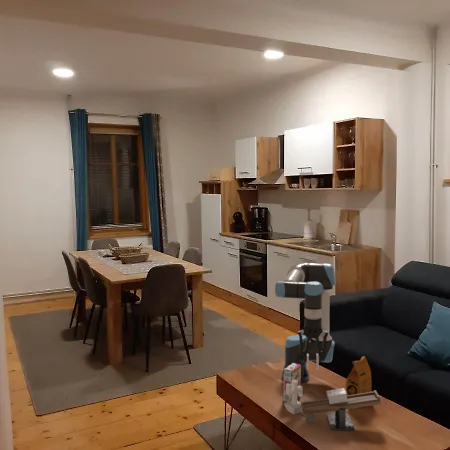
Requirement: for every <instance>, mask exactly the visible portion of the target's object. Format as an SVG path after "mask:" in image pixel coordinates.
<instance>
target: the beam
mask: <svg viewBox="0 0 450 450" xmlns="http://www.w3.org/2000/svg"><path fill="white" fill-rule="evenodd" d="M347 400H348V403H345V404H338V405H331V406H330V405H329V402H328V398H322V399H315V400H308V401H302V400H301V401H300V402H301V407H302V411H301V412H302V415H303V416H304V417H305V419H306V422H309V421H311V422H312V421H316V419H317V418H316V414H324V413H331V412H335V411H338V410H339V408H345V410H349V409H351V410H352V409H359V408H358V407H362V408H363V407H364V408H365V407H370V406H377V405H381V404H382V402H381V398H380V395H379V393H378V392H377V390H373V391H371V392H368V393H361V394H354V395H348V396H347Z"/></svg>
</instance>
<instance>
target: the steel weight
mask: <svg viewBox="0 0 450 450" xmlns="http://www.w3.org/2000/svg"><path fill="white" fill-rule="evenodd" d="M325 392H326V396H327V398H326V399H328V402H329V405H330V406H331V405H338V404H345V403H348V400H347V394H346V388H344V387H342V388H336V389H329V390H326V391H325Z"/></svg>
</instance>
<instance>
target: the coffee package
mask: <svg viewBox="0 0 450 450" xmlns="http://www.w3.org/2000/svg"><path fill="white" fill-rule="evenodd" d="M351 364H352V365H353V367H352V369H351V372H349V374H348V376H347V378H346V380H345V391H346V394H347V396H348V395H354V394H361V393H368V392H372V384H373V383H372V371H371V367H370V365H369V363H368V360H367V358H366V356H365V355H364V356H361V358H360V360H355V361H354V360H353V361H352V362H351ZM362 408H363V407H358V408H357V409H362Z"/></svg>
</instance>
